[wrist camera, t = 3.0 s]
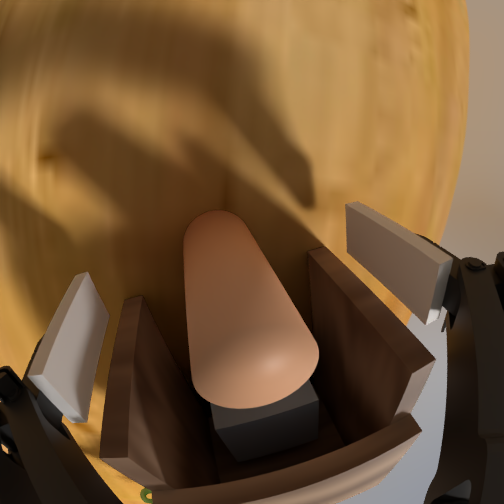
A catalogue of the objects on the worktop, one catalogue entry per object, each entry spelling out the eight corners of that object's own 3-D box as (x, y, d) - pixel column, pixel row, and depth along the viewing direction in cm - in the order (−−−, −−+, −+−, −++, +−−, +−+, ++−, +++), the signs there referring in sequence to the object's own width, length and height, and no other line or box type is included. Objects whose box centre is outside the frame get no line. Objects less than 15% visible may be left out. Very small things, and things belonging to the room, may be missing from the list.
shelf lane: (124, 299, 15) (98, 486, 6) (325, 246, 17) (454, 380, 7) (199, 425, 22) (220, 533, 13) (326, 388, 24) (378, 484, 14)
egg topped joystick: (153, 226, 14) (127, 355, 6) (265, 197, 15) (359, 290, 7) (223, 401, 21) (247, 496, 13) (292, 381, 22) (332, 470, 14)
